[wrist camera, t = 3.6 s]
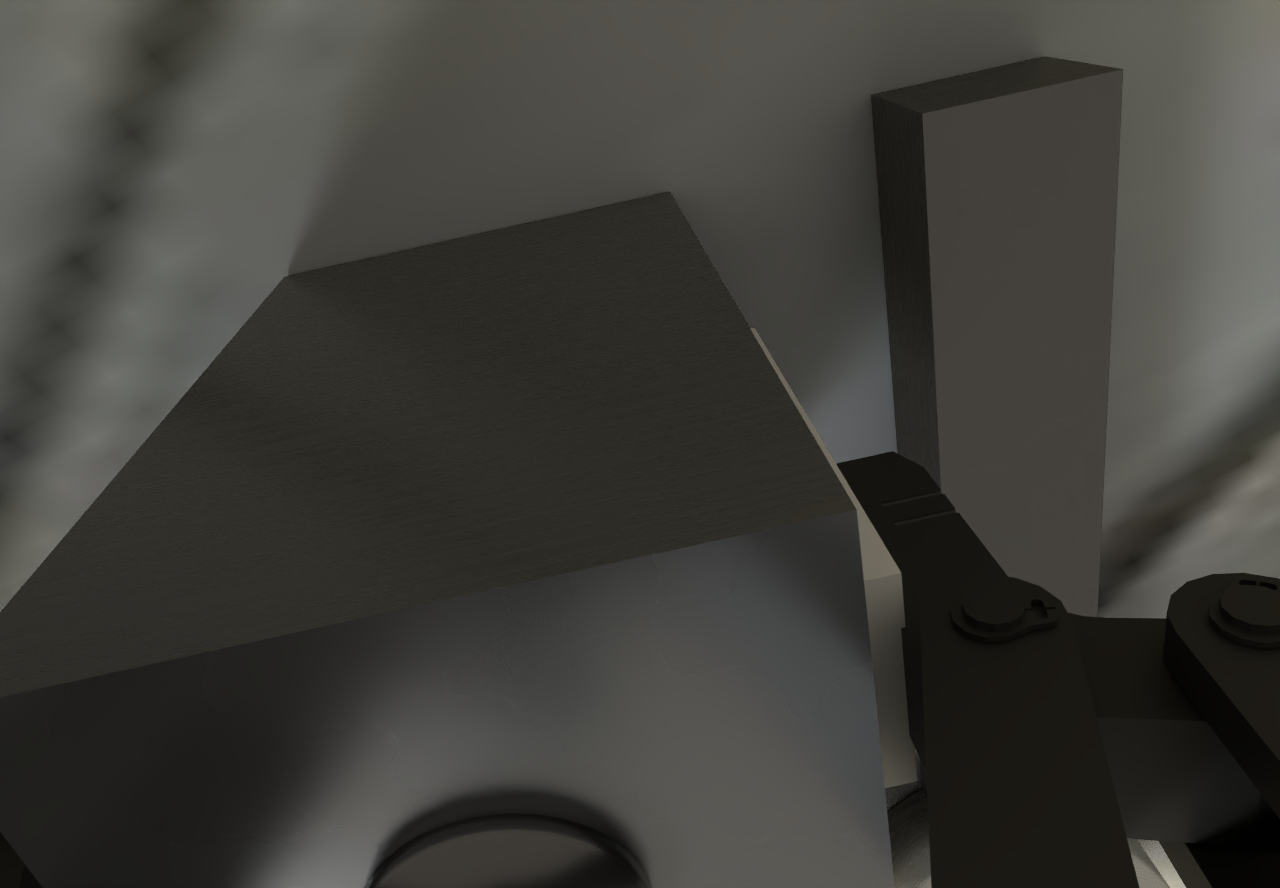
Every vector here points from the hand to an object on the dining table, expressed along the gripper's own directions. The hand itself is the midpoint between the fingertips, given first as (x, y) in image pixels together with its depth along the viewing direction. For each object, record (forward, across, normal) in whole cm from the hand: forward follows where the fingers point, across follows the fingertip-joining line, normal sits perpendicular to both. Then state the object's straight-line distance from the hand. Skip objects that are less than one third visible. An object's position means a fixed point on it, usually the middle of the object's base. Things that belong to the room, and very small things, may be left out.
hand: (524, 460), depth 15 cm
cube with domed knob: (+2, 0, 0) cm, 2 cm away
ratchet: (+2, +8, -7) cm, 11 cm away
